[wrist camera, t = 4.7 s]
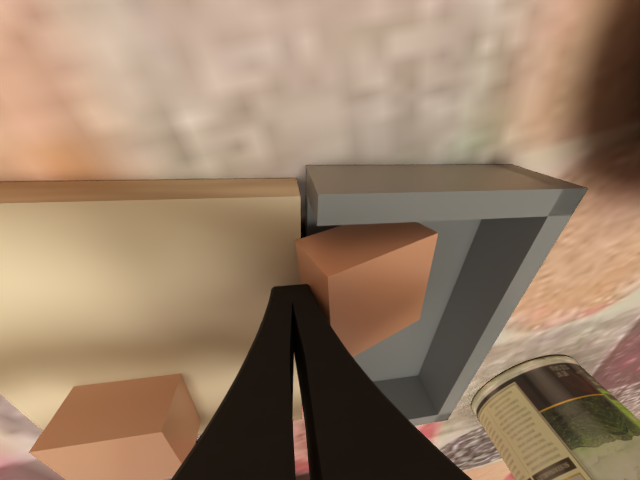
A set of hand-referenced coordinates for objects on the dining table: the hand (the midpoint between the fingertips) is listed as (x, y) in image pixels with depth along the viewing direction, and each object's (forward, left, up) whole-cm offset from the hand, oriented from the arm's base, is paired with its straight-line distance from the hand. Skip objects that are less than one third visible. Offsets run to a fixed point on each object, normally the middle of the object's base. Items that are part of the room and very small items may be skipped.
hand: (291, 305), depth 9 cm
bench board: (-4, +6, -3) cm, 8 cm away
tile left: (-7, +8, -1) cm, 10 cm away
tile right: (0, -3, -2) cm, 3 cm away
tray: (-4, -5, -3) cm, 7 cm away
